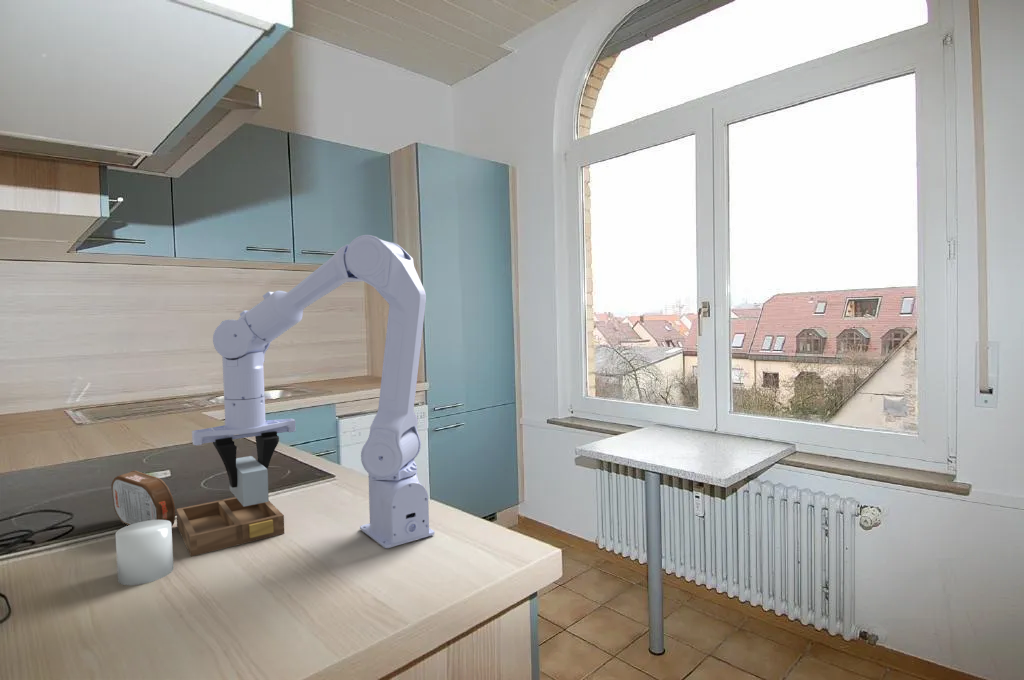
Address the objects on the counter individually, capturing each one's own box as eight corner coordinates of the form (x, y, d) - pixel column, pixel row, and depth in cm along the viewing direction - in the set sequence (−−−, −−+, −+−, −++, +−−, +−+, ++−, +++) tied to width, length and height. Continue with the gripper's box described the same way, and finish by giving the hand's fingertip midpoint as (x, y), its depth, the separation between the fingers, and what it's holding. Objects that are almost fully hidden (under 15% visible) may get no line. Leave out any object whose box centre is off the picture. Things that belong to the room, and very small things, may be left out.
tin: (178, 534, 85) (176, 479, 84) (156, 541, 82) (153, 485, 82) (130, 516, 93) (128, 466, 92) (109, 522, 90) (106, 471, 90)
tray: (285, 534, 84) (284, 516, 84) (191, 558, 76) (190, 538, 76) (260, 508, 95) (260, 492, 95) (177, 526, 88) (176, 508, 88)
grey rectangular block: (268, 501, 85) (267, 469, 84) (243, 506, 82) (242, 473, 82) (252, 485, 92) (251, 455, 92) (229, 489, 90) (228, 459, 90)
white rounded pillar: (176, 575, 71) (174, 529, 71) (119, 590, 68) (116, 542, 67) (170, 559, 76) (168, 516, 76) (116, 572, 72) (114, 527, 72)
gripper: (285, 389, 94) (288, 468, 95) (187, 399, 85) (191, 486, 86) (298, 394, 89) (301, 478, 89) (194, 405, 80) (198, 498, 80)
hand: (248, 483), depth 87 cm, fingers closed on grey rectangular block, 3 cm apart
